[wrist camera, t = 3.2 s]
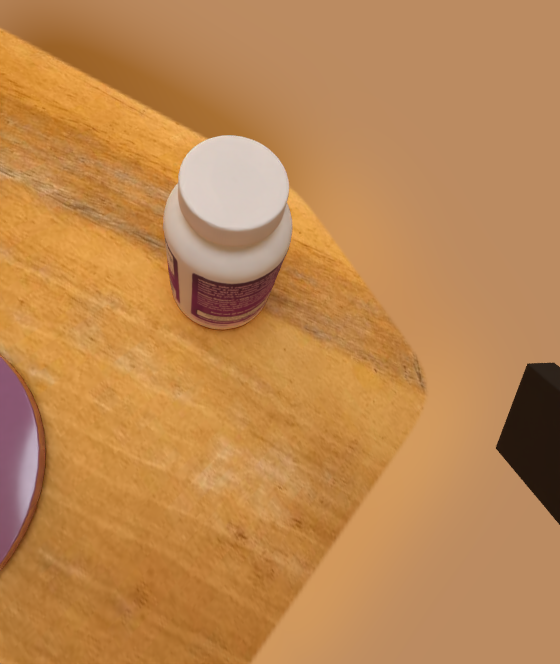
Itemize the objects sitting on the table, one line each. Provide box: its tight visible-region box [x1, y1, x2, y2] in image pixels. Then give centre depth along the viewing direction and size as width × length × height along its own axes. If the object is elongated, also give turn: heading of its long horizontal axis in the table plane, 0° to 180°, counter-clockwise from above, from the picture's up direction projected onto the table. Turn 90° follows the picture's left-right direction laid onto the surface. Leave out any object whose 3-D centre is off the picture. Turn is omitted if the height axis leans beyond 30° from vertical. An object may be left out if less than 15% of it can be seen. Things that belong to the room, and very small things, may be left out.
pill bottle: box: [163, 135, 292, 329], centre depth 21 cm, size 5×5×10 cm
